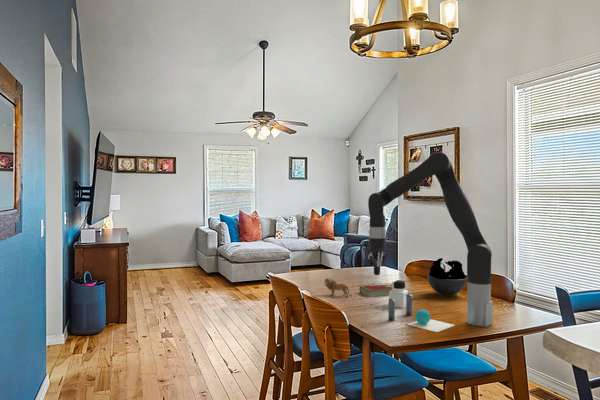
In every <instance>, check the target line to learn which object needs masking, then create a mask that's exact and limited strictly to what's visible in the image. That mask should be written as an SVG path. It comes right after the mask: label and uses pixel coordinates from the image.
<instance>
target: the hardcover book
mask: <svg viewBox="0 0 600 400" xmlns="http://www.w3.org/2000/svg"><path fill="white" fill-rule="evenodd" d="M391 290H393V289H392V283H390V284H389V283H388V284H378V285H377V284H375V285H374V284H372V285H360V286H359V293H361V292H362V293H361V294H363V295H365V296H367V297H369V298H371V297H387V296H388V297H389V291H391Z"/></svg>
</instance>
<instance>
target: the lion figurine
mask: <svg viewBox="0 0 600 400" xmlns="http://www.w3.org/2000/svg"><path fill="white" fill-rule="evenodd" d="M324 286H325V287H326V288H327V289H328V290H329V291H331V295H333V296H334V295H335V291H342V292H343V294H342V296H343V295H345V298H348V297H349V296H353V295H352V294H351V293H350V291H349V287H348V285H347V284H346V283H338V282H336V281H335V280H334V279H332V278H330V277H327V278H325V279H324Z"/></svg>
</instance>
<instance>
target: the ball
mask: <svg viewBox="0 0 600 400" xmlns="http://www.w3.org/2000/svg"><path fill="white" fill-rule="evenodd" d="M430 319H431V313H429V311H428V310H426V309H418V310H417V311H416V312H415V321H417V322H418V323H420V324H427V323H428V322H429V321H430Z"/></svg>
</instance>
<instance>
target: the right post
mask: <svg viewBox="0 0 600 400" xmlns="http://www.w3.org/2000/svg"><path fill="white" fill-rule="evenodd" d="M405 315H406V316H410V317H411V316H413V294H410V293H408V294H406V306H405Z"/></svg>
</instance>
